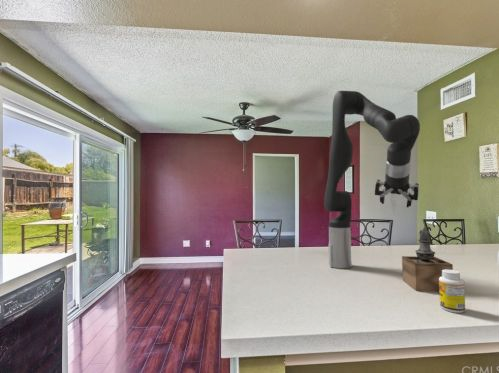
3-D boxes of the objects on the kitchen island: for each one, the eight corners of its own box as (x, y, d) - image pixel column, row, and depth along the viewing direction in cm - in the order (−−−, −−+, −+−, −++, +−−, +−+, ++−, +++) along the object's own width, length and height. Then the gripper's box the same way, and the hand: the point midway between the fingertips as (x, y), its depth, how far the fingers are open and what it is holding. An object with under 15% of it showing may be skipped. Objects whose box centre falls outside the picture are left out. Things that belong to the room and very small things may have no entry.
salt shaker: (439, 264, 91) (437, 228, 91) (419, 264, 92) (418, 227, 92) (431, 260, 96) (429, 226, 97) (412, 260, 98) (411, 226, 98)
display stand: (416, 291, 89) (415, 263, 90) (402, 280, 100) (401, 256, 100) (453, 292, 88) (452, 264, 88) (435, 281, 98) (434, 256, 99)
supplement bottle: (441, 303, 78) (439, 267, 79) (466, 308, 75) (464, 270, 75) (438, 310, 74) (437, 271, 75) (465, 315, 71) (463, 275, 71)
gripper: (422, 166, 95) (417, 200, 105) (377, 162, 103) (376, 195, 112) (420, 179, 91) (415, 214, 100) (373, 175, 98) (373, 207, 108)
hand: (395, 204), depth 106 cm, fingers open, 8 cm apart
